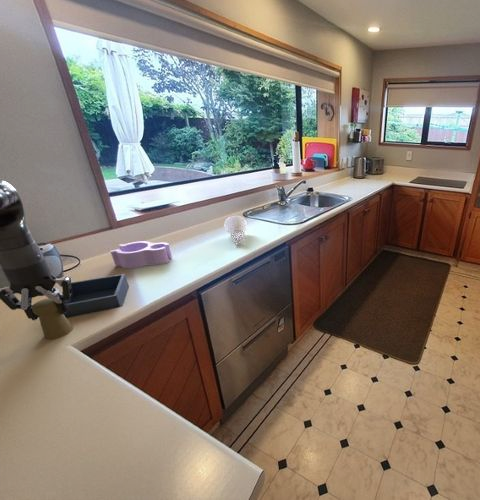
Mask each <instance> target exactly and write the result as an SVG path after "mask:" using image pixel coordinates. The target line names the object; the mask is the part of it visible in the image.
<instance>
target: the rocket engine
mask: <svg viewBox="0 0 480 500" xmlns="http://www.w3.org/2000/svg"><path fill="white" fill-rule="evenodd" d="M223 225H224V229H225V231H226V232H227V233H228V234H229V235H230V236H231V241H233V242H234V246H236V247H239V245H245V241H246V238H245V234H246V232H247V228H248V222H247V220H246V219H245V217H244V216H241V215H231V216H229V217H227V218H226V219H225V221H224V224H223Z"/></svg>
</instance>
